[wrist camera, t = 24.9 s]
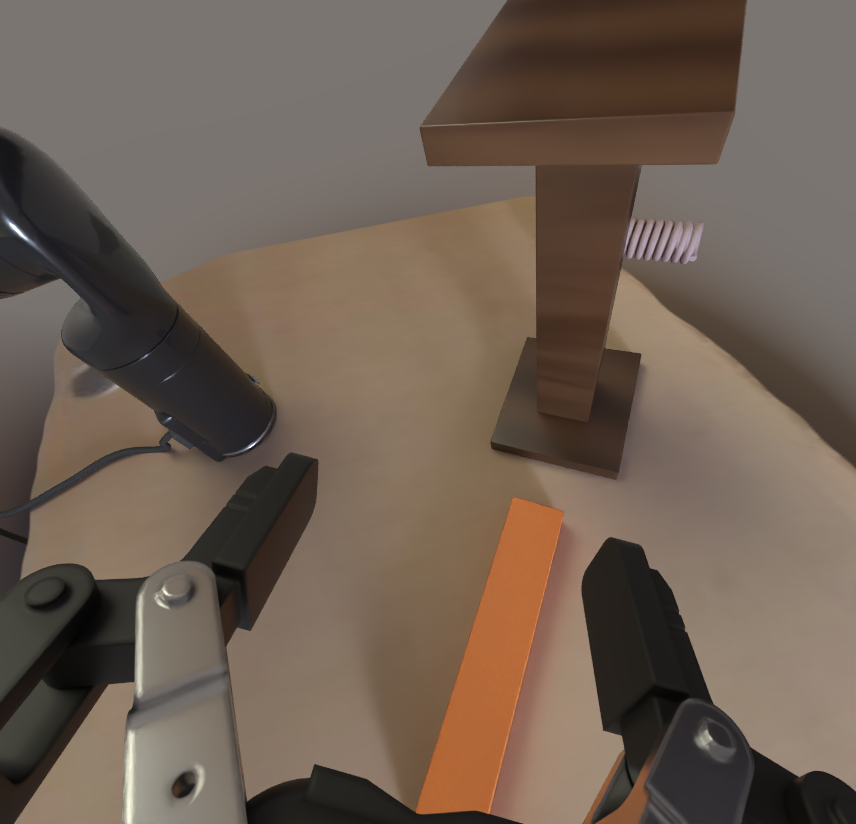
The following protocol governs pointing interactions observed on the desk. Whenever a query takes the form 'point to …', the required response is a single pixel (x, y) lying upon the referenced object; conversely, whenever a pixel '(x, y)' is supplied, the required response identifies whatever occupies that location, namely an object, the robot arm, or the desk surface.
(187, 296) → the desk surface
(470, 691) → the orange box
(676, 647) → the robot arm
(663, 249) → the coil
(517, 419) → the walnut stand
